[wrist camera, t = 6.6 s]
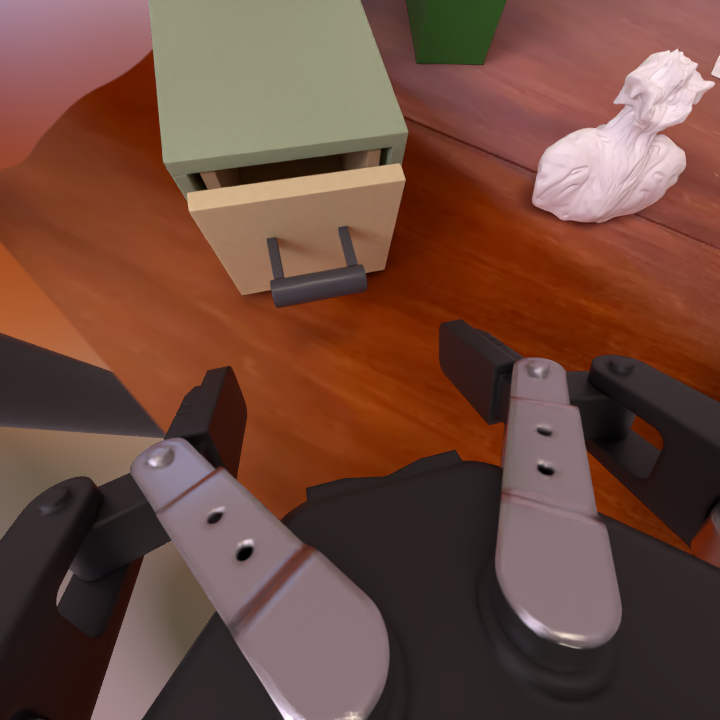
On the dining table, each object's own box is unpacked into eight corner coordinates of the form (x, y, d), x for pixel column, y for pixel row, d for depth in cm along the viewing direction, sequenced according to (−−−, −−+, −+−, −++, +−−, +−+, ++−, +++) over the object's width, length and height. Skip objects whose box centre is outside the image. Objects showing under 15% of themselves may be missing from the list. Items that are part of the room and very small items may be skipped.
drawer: (398, 318, 24) (429, 248, 16) (250, 348, 23) (197, 289, 14) (347, 143, 29) (350, 16, 20) (221, 160, 28) (168, 31, 19)
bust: (616, 217, 32) (692, 70, 26) (677, 237, 26) (797, 50, 20) (502, 209, 32) (550, 55, 25) (537, 227, 26) (612, 30, 19)
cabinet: (383, 252, 27) (409, 131, 17) (234, 278, 25) (162, 163, 15) (345, 126, 31) (348, -36, 21) (213, 142, 29) (145, -23, 19)
